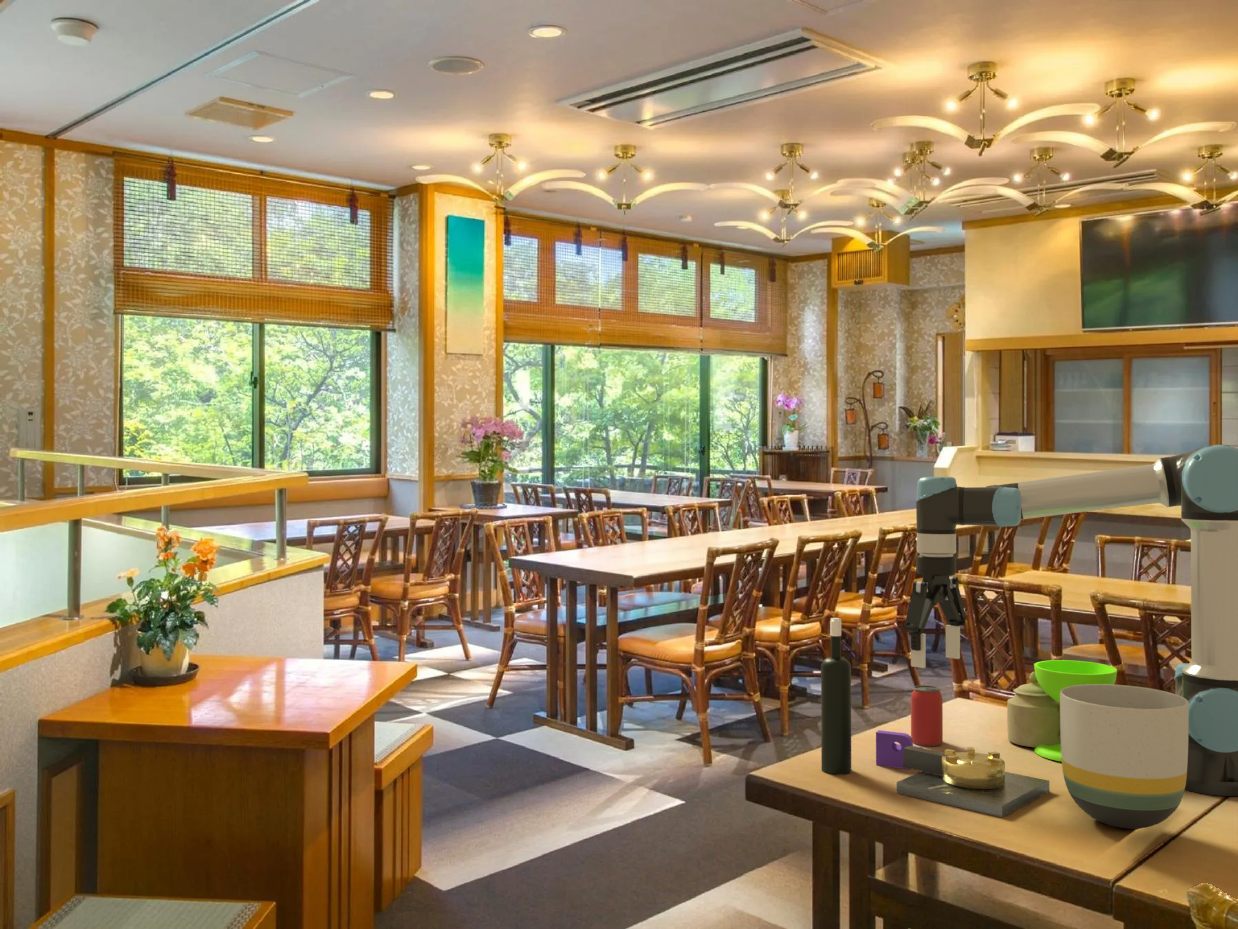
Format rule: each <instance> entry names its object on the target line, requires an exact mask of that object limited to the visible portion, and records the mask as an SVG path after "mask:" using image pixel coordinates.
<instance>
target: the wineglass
mask: <svg viewBox="0 0 1238 929" xmlns="http://www.w3.org/2000/svg"><path fill="white" fill-rule="evenodd" d="M1033 667H1034V668H1033V669H1034V672H1035V676H1036V678H1037V680H1038V682H1037V683H1038V684H1039V685H1040V686H1041V687H1042V689H1043V690H1044V691H1045V692H1046V693H1047V694H1048V695H1049V696H1051V697H1052V698H1053V699H1054V700H1056V701H1058V702H1060V691H1061V690H1062V689H1063V688H1066V687H1069V686H1075V685H1086V684H1110V685H1115V684H1116V681H1117V676H1118V675H1117V674H1118V669H1117V668H1116V667H1114V666H1111V665H1110V664H1109V665H1108V664H1104V663H1098V662H1092V661H1085V660H1084V661H1083V660H1072V659H1071V660H1069V659H1067V660H1066V659H1060V660H1059V659H1052V660H1041V661H1038V662H1037V661H1036V662H1035V663H1033ZM1034 753H1036V754H1037V755H1038V756H1040V757H1042V758H1045V759H1049V760H1053V761H1056V762H1061V763H1062V757H1061V743H1059V744H1056V745H1050V746H1046V745H1038V746H1037V747H1034Z"/></svg>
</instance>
